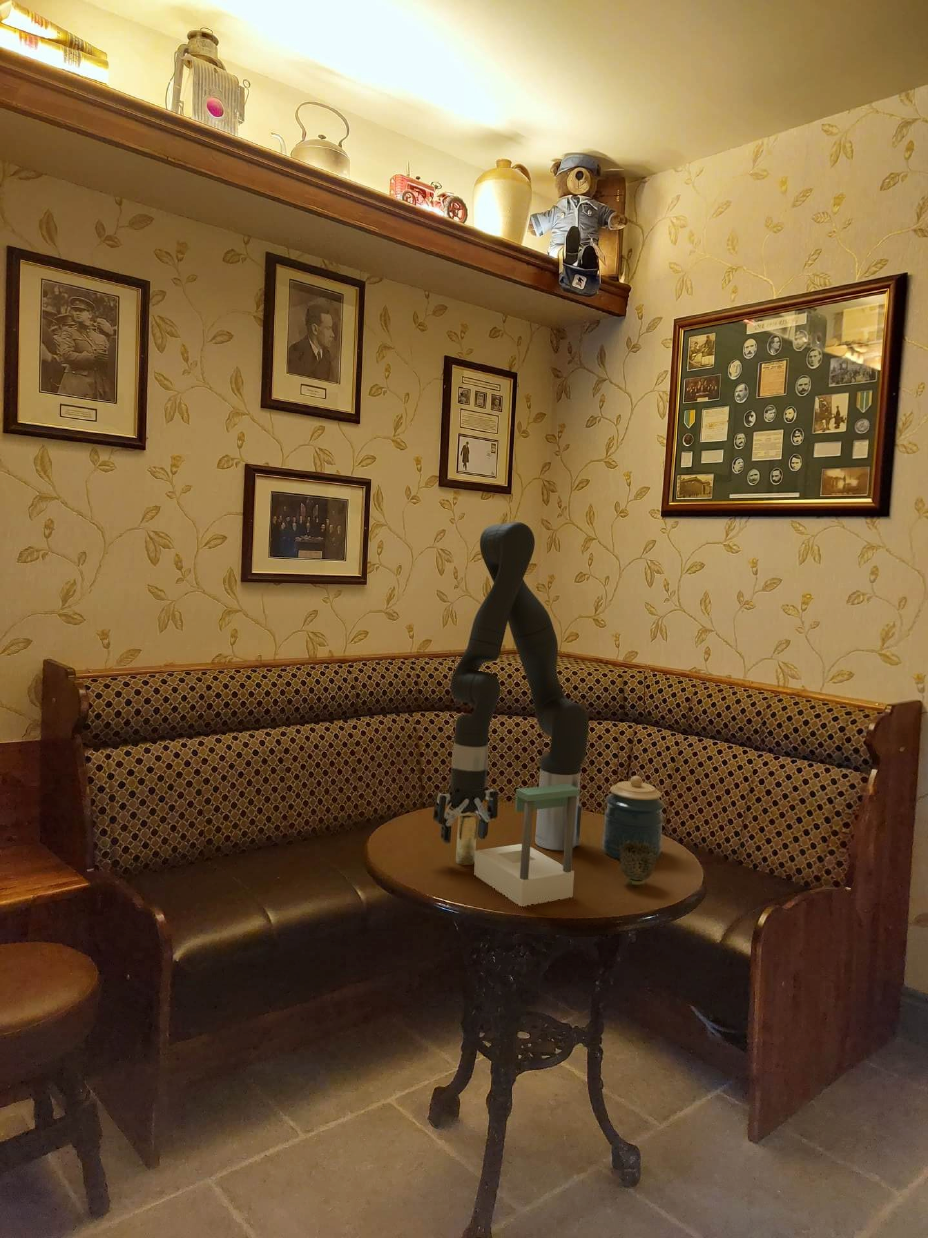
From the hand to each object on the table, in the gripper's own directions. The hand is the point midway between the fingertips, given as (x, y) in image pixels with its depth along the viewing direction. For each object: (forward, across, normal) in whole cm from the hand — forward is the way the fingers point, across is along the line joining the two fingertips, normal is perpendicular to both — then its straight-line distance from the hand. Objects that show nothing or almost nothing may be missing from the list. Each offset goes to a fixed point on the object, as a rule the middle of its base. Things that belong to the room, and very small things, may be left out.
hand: (463, 840), depth 178 cm
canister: (+4, -39, +9) cm, 40 cm away
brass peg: (+4, 0, 0) cm, 5 cm away
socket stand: (+4, -5, +15) cm, 17 cm away
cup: (+4, -27, +24) cm, 36 cm away
